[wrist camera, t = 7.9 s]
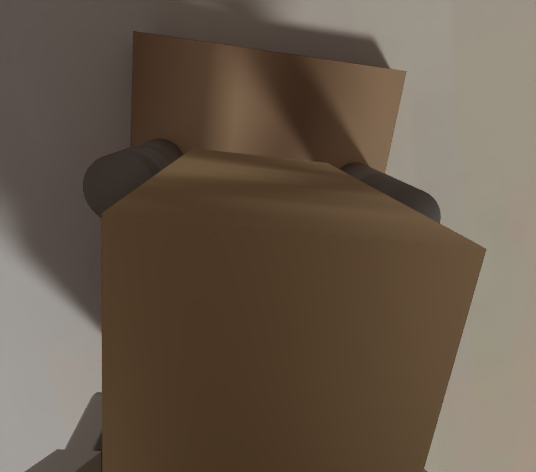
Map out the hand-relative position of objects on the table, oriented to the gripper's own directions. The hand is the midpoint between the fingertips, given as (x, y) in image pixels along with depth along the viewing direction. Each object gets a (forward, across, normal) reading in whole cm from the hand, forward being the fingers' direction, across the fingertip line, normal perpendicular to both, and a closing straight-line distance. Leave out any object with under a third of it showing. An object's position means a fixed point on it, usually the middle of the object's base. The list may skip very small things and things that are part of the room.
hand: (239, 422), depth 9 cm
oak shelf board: (+3, 0, 0) cm, 3 cm away
